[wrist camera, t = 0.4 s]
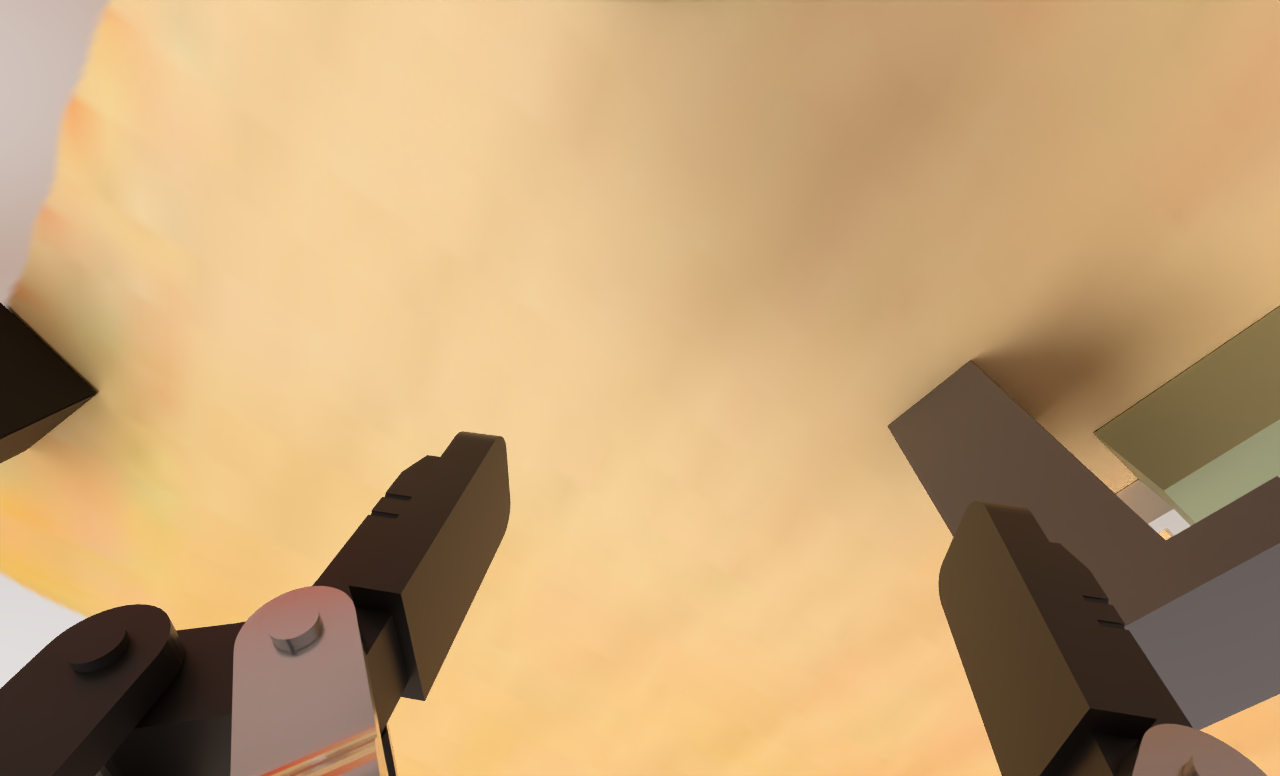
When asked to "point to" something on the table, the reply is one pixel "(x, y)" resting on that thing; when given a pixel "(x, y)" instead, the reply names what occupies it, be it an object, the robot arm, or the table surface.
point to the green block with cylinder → (1204, 432)
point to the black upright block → (32, 388)
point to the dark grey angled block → (1118, 543)
